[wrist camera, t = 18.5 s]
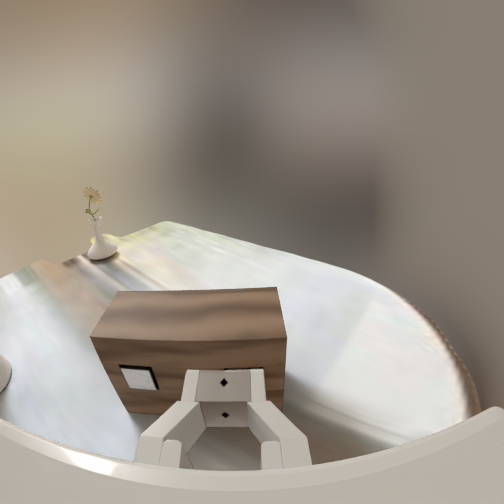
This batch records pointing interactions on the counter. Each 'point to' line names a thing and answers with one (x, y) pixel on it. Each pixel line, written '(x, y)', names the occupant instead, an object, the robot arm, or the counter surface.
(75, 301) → the counter surface
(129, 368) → the plunger left
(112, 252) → the flower in vase
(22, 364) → the counter surface
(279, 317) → the button panel
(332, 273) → the counter surface
